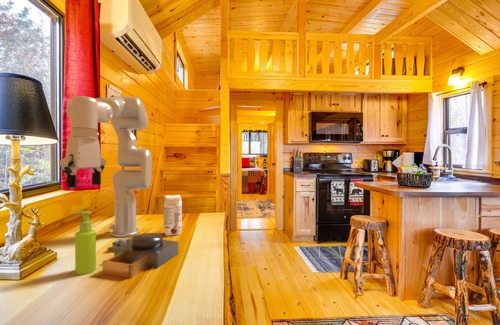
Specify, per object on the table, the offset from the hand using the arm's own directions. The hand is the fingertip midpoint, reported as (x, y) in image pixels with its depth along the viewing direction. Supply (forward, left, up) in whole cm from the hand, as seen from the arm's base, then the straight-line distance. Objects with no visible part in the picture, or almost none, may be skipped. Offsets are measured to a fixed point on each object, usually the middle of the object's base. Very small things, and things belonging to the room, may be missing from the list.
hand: (84, 185), depth 90 cm
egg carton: (-2, +23, -29) cm, 37 cm away
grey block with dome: (+13, +11, -29) cm, 33 cm away
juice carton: (+5, +47, -29) cm, 55 cm away
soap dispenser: (0, 0, -29) cm, 29 cm away
